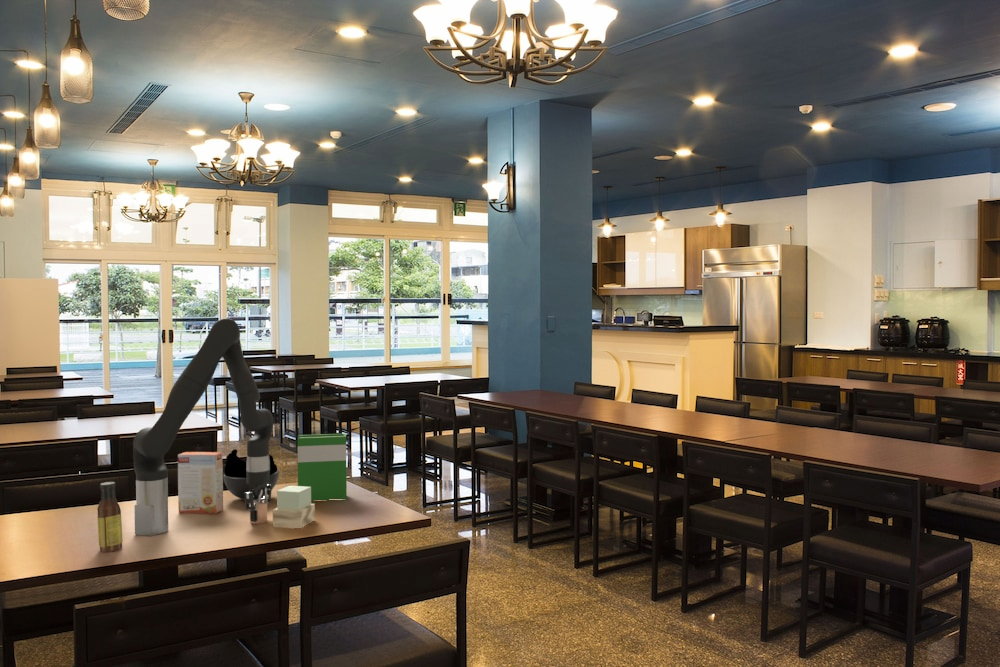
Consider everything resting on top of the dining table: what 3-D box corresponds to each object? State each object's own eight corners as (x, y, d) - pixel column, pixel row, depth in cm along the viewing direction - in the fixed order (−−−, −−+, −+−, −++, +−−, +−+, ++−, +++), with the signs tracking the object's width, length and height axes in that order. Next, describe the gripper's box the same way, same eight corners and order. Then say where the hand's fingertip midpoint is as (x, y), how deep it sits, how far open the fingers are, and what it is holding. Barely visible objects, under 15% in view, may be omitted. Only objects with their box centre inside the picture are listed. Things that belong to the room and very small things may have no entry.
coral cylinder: (261, 524, 252) (261, 506, 252) (246, 523, 253) (246, 505, 253) (270, 520, 257) (270, 502, 257) (255, 519, 259) (255, 501, 258)
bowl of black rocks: (290, 497, 290) (290, 448, 289) (246, 508, 273) (246, 456, 272) (256, 490, 301) (255, 443, 300) (212, 501, 284) (211, 451, 283)
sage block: (299, 510, 248) (298, 492, 248) (277, 508, 250) (277, 490, 250) (311, 504, 255) (311, 486, 255) (289, 503, 257) (289, 485, 257)
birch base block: (301, 529, 247) (300, 511, 247) (272, 527, 249) (272, 509, 249) (314, 521, 257) (314, 503, 256) (287, 519, 259) (287, 502, 259)
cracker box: (224, 509, 271) (223, 451, 271) (216, 514, 265) (215, 454, 265) (186, 508, 273) (185, 450, 272) (177, 513, 267) (177, 453, 266)
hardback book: (298, 502, 282) (297, 438, 281) (298, 498, 289) (298, 435, 288) (346, 500, 285) (346, 436, 285) (346, 495, 293) (345, 433, 292)
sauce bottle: (126, 546, 228) (125, 480, 228) (116, 552, 222) (115, 485, 221) (104, 546, 228) (103, 480, 228) (93, 553, 222) (92, 485, 221)
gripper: (257, 473, 247) (257, 525, 247) (279, 465, 261) (279, 514, 262) (236, 472, 249) (236, 524, 249) (259, 464, 263) (259, 513, 263)
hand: (258, 518), depth 255 cm, fingers closed on coral cylinder, 5 cm apart
